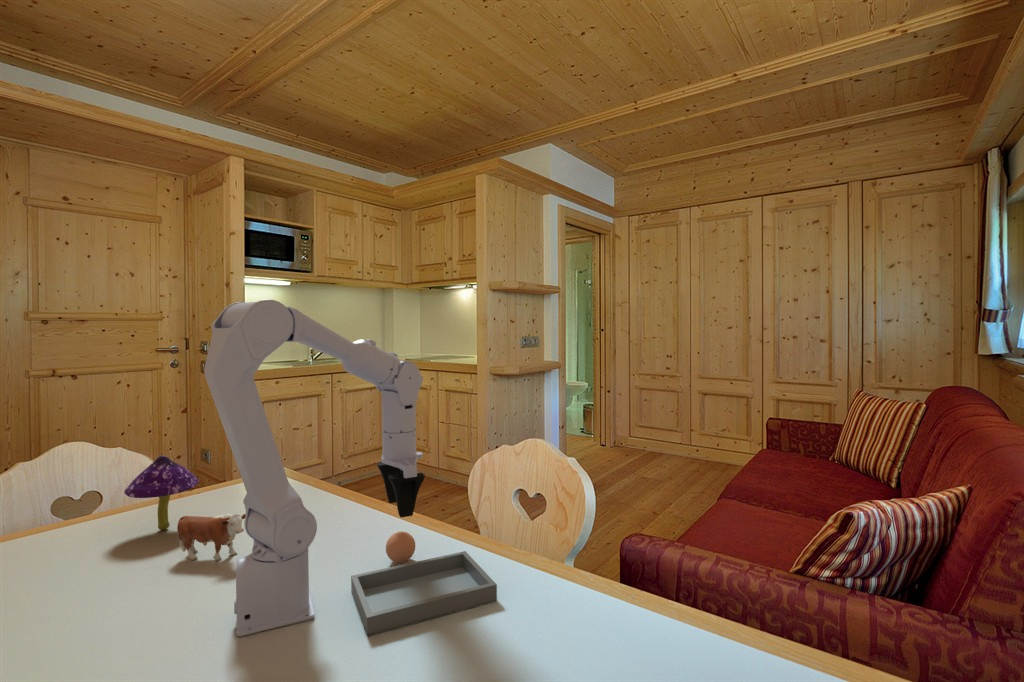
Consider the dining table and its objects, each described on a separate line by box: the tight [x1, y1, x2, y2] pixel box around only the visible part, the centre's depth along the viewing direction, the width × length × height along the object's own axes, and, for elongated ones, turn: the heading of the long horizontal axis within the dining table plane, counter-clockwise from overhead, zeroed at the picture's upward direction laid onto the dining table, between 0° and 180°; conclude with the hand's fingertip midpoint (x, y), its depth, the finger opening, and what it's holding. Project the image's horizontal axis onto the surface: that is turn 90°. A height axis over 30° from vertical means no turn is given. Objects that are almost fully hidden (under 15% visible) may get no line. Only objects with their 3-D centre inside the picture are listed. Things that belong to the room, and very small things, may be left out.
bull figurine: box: [176, 513, 246, 562], centre depth 90 cm, size 4×13×8 cm, turn 78°
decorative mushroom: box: [123, 455, 200, 531], centre depth 102 cm, size 12×12×15 cm
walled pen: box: [350, 550, 498, 637], centre depth 76 cm, size 19×13×2 cm
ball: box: [385, 531, 416, 564], centre depth 87 cm, size 5×5×5 cm
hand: (400, 508), depth 87 cm, fingers open, 7 cm apart
